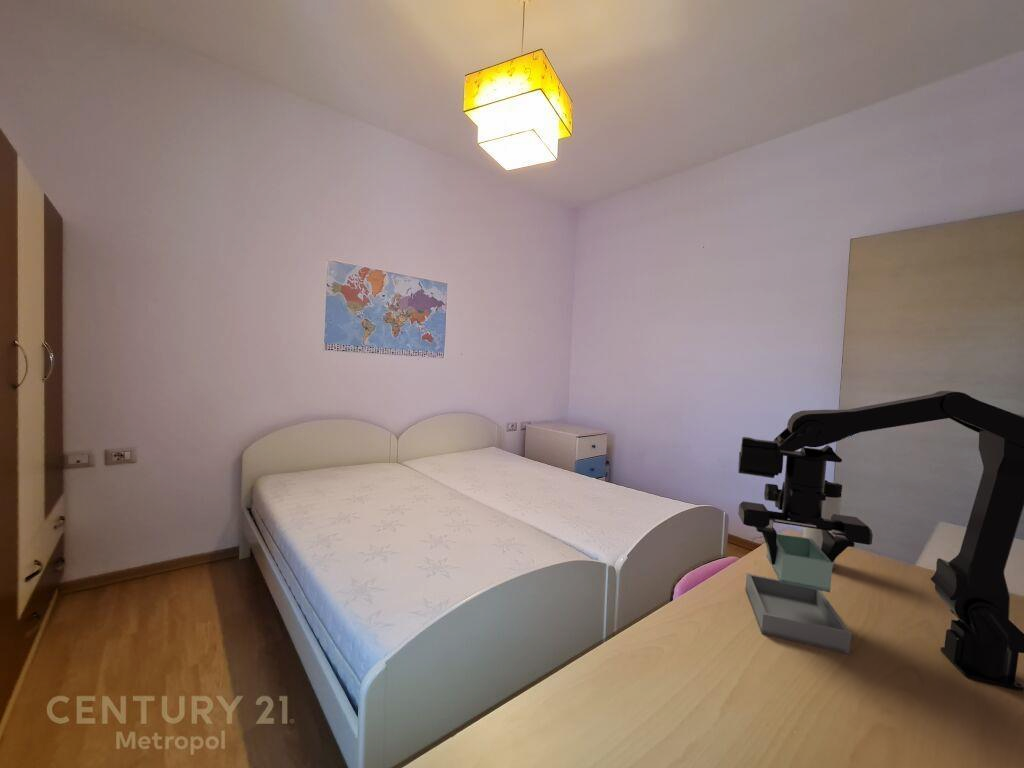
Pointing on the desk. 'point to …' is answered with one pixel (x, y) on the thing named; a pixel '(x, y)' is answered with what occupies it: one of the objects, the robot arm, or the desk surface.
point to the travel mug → (826, 511)
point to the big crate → (796, 614)
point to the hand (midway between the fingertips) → (796, 567)
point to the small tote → (801, 563)
